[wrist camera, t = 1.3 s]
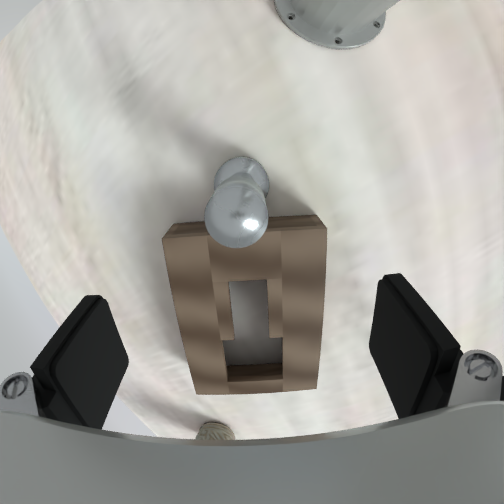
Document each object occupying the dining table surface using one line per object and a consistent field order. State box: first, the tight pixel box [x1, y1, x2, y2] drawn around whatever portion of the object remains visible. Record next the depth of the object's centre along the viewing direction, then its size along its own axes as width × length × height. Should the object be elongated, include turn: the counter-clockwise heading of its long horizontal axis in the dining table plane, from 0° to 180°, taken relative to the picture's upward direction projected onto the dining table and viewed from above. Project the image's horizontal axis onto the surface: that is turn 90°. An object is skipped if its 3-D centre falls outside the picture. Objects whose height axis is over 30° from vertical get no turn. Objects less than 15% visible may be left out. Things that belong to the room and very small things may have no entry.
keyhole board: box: [162, 215, 327, 395], centre depth 35 cm, size 22×16×5 cm
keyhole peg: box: [204, 157, 269, 248], centre depth 26 cm, size 6×6×14 cm
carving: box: [196, 422, 235, 440], centre depth 42 cm, size 6×8×12 cm
